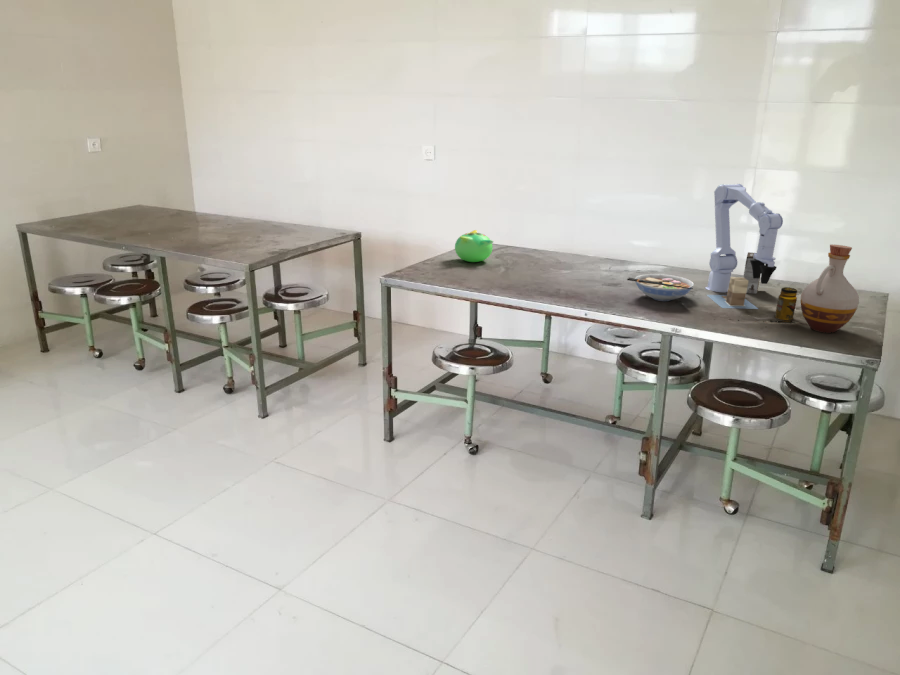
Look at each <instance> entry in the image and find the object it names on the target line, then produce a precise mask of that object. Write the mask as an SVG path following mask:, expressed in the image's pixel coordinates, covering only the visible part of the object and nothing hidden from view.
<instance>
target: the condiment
mask: <svg viewBox="0 0 900 675" xmlns="http://www.w3.org/2000/svg"><path fill="white" fill-rule="evenodd" d="M797 294H798V290H797V288H794V287H786V286H785V287H782V288H781V290H780V294H779V295H778V298H777V305H776V309H775V313H774V317H775V318H776V319H778V320H771V319H770V322H771V323H780V324H781V323H782V324H792V323H794V324H793V325H795V324H796V322H795V321H794V322H792V321H793V319H794V316H795V310H796V305H797V300H798V297H797ZM777 321H778V322H777Z"/></svg>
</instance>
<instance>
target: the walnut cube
mask: <svg viewBox="0 0 900 675" xmlns="http://www.w3.org/2000/svg"><path fill="white" fill-rule="evenodd" d="M726 295H727V298H726V302H727V303H728V304H729V305H735V306H744V301H745V299H746V295H747V293H732V292H731V291H730V290H728V292H726Z"/></svg>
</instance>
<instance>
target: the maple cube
mask: <svg viewBox="0 0 900 675" xmlns="http://www.w3.org/2000/svg"><path fill="white" fill-rule="evenodd" d="M747 287H748V280H747V279H745V278H743V277H742V276H740V277H737V276H731V277H730V283H729V289H728V290H730V291H731V292H732V293H746V294H747Z"/></svg>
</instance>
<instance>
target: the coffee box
mask: <svg viewBox="0 0 900 675" xmlns="http://www.w3.org/2000/svg"><path fill="white" fill-rule="evenodd" d="M754 253H755V252H749V251H748V252H747V253H746V254H747V255H746V259H745V265H744V271H743V275H742V276H743V278H745V279H747V280H748V287H747V293H748V294H758V291H759V284H760V282H761V275H760V278H759V279H754V278H753V270H752V265H751V262H750V260H754V258H753V257H754ZM747 293H746V294H747Z"/></svg>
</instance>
